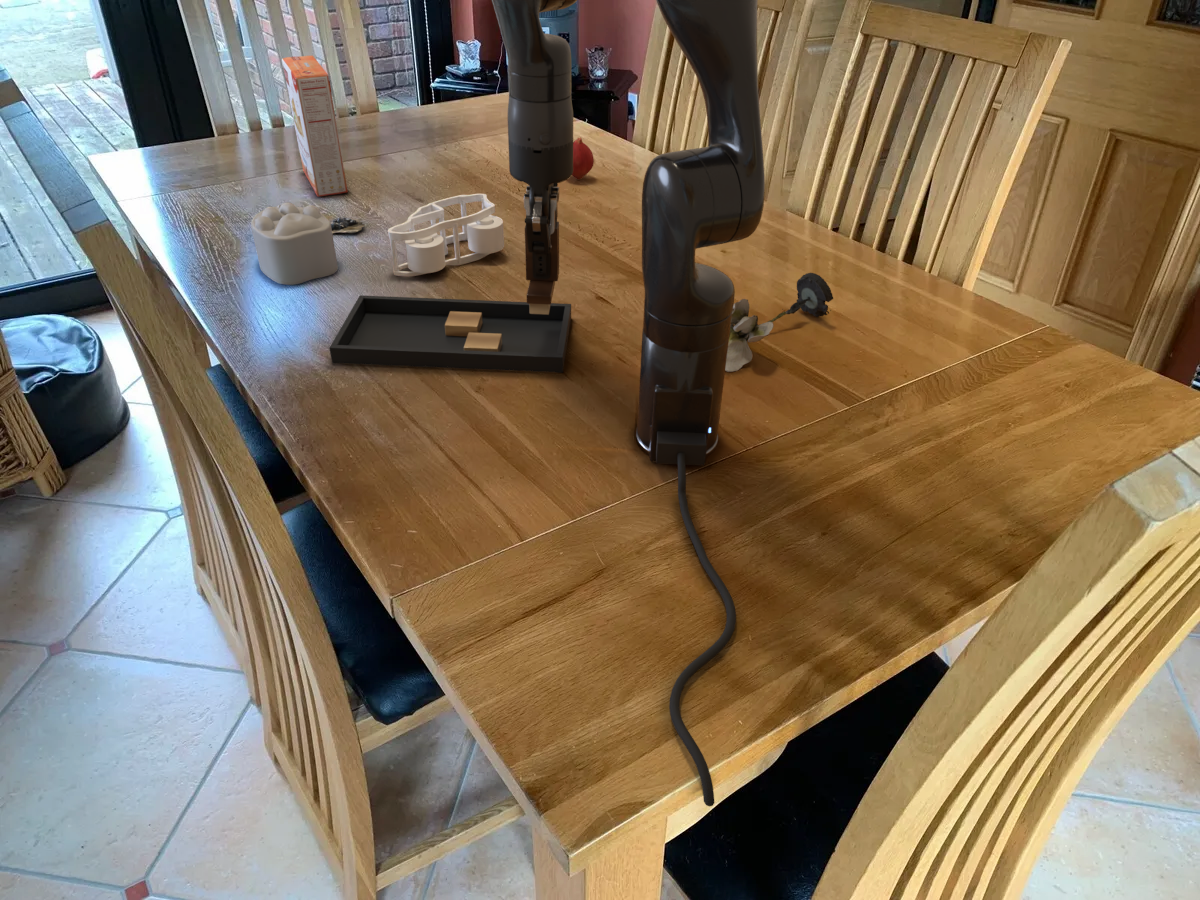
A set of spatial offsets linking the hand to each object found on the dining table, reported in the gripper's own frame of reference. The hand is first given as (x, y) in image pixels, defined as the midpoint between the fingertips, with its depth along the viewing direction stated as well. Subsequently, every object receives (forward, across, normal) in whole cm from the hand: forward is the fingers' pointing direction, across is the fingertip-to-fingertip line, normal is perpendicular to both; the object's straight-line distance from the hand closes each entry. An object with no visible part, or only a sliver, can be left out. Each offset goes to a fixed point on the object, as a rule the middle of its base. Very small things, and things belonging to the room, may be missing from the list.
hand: (543, 271), depth 113 cm
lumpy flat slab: (+11, -36, -38) cm, 53 cm away
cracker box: (+11, -57, -47) cm, 74 cm away
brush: (+3, 0, 0) cm, 3 cm away
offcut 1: (+10, -3, -11) cm, 15 cm away
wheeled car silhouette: (+11, -26, -18) cm, 33 cm away
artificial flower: (+11, -4, +30) cm, 32 cm away
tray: (+11, 0, -12) cm, 16 cm away
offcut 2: (+10, +3, -8) cm, 13 cm away
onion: (+11, -64, 0) cm, 65 cm away
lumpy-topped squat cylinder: (+11, -22, -41) cm, 48 cm away
